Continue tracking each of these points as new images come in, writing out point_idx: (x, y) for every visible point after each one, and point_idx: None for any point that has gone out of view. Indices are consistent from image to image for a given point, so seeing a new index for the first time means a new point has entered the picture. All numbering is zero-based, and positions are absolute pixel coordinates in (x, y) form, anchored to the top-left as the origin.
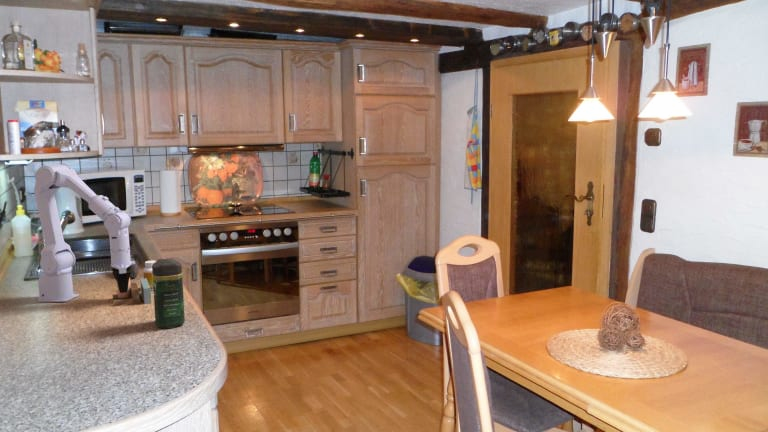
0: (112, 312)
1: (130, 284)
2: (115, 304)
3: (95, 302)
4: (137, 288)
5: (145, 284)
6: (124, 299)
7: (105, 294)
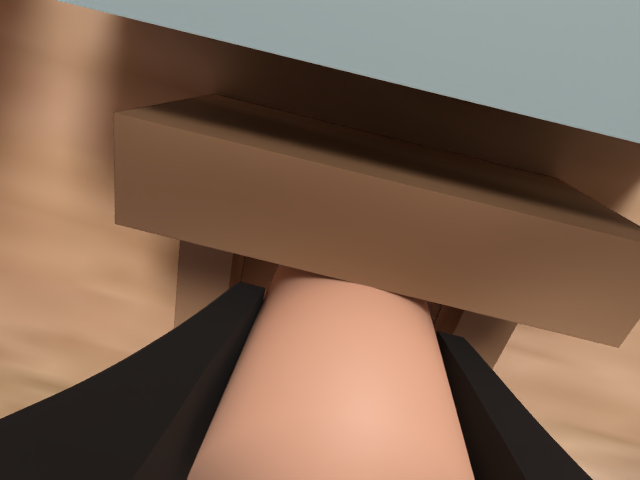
0: (635, 440)
1: (388, 317)
2: None
3: None
4: (611, 248)
5: (584, 41)
6: (481, 331)
7: (14, 314)
